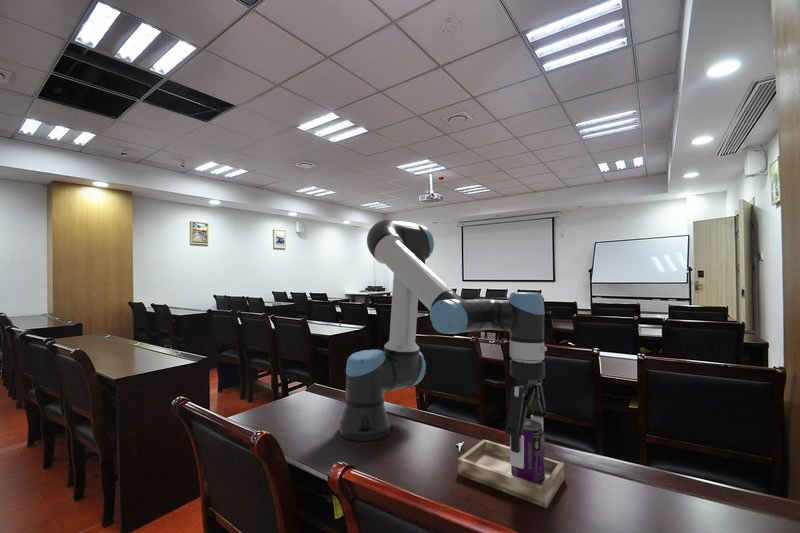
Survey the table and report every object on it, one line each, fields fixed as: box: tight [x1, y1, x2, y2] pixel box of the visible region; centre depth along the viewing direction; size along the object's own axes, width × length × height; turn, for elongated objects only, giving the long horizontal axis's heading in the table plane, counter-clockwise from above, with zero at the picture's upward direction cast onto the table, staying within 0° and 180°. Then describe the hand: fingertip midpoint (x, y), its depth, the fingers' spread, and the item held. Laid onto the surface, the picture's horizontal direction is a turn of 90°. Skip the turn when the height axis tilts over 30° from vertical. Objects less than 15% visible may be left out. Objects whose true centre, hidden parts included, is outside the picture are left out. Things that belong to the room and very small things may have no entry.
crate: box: [457, 439, 565, 509], centre depth 82 cm, size 20×14×4 cm
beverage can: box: [511, 418, 546, 484], centre depth 80 cm, size 7×7×12 cm
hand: (527, 454), depth 80 cm, fingers open, 13 cm apart
